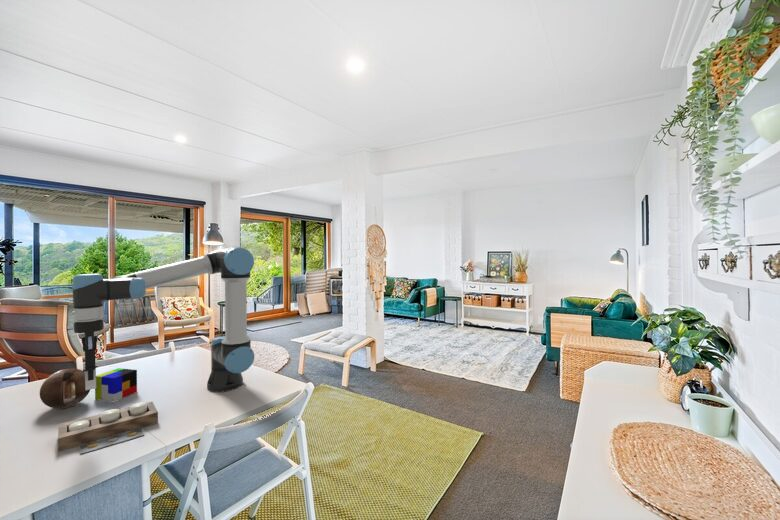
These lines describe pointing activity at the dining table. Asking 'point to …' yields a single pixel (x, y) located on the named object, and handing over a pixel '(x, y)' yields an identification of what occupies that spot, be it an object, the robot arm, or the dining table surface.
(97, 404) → the dining table surface
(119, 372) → the puzzle toy
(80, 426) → the left button
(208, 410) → the dining table surface
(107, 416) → the middle button
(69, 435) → the button board
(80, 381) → the wooden sphere
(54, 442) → the dining table surface
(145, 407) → the right button
